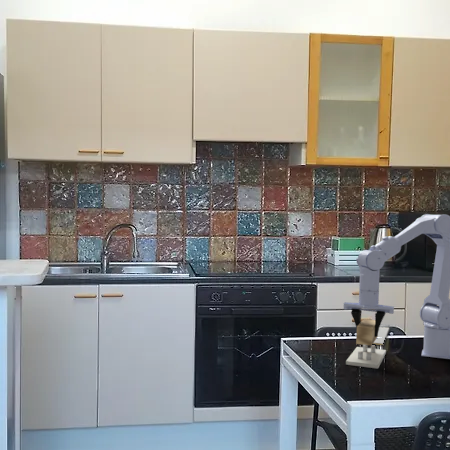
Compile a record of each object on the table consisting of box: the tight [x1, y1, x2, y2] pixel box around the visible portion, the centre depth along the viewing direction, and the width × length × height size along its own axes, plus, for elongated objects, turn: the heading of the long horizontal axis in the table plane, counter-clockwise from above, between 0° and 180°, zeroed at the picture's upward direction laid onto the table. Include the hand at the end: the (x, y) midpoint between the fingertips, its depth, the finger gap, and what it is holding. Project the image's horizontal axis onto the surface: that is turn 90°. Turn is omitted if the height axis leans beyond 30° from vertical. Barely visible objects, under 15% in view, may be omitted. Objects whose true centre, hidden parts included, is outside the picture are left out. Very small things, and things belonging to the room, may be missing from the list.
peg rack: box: [345, 345, 387, 369], centre depth 170 cm, size 9×20×3 cm, turn 158°
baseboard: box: [373, 324, 390, 346], centre depth 204 cm, size 30×3×10 cm
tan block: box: [355, 318, 378, 347], centre depth 170 cm, size 4×14×5 cm, turn 158°
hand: (367, 335), depth 170 cm, fingers closed on tan block, 4 cm apart
